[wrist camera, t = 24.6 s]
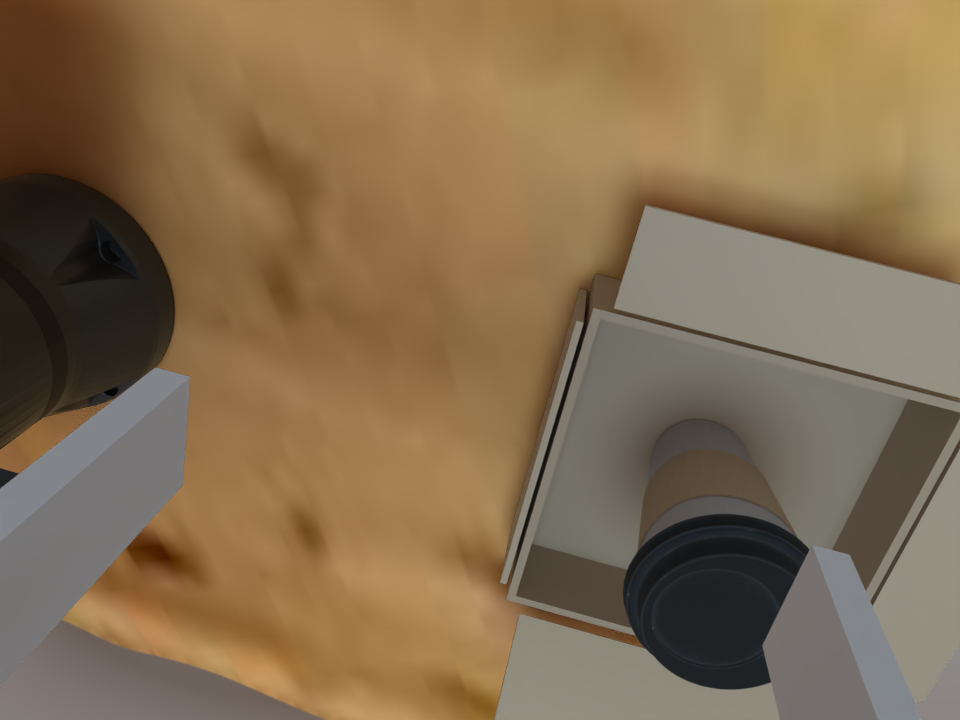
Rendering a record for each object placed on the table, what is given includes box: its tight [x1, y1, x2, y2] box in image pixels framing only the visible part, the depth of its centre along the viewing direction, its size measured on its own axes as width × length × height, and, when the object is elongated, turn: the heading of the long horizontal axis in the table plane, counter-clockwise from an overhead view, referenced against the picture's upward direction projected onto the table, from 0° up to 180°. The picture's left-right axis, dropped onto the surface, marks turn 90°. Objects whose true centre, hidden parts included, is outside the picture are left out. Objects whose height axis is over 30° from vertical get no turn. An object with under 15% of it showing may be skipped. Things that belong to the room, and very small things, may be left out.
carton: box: [500, 204, 960, 702], centre depth 47 cm, size 26×26×6 cm
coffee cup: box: [623, 420, 810, 690], centre depth 43 cm, size 9×9×15 cm
